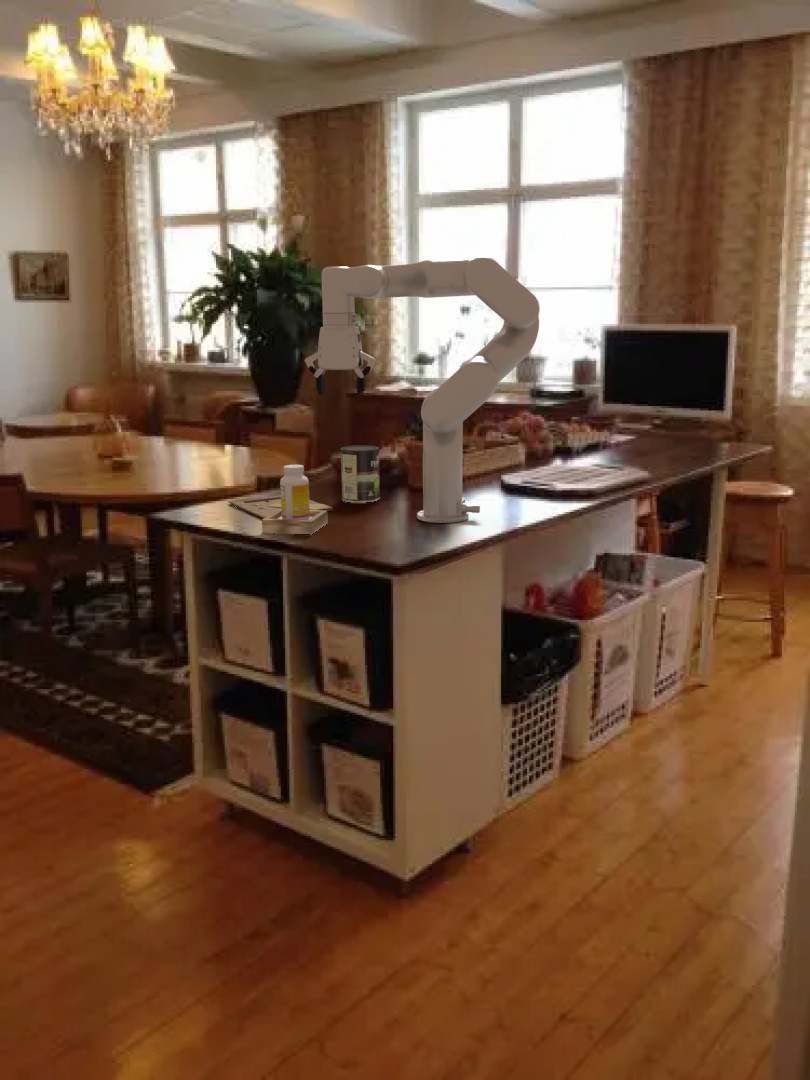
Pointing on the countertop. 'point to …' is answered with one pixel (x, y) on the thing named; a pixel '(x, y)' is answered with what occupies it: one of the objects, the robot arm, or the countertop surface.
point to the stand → (294, 523)
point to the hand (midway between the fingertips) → (340, 394)
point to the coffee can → (360, 473)
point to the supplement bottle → (294, 493)
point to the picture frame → (269, 505)
